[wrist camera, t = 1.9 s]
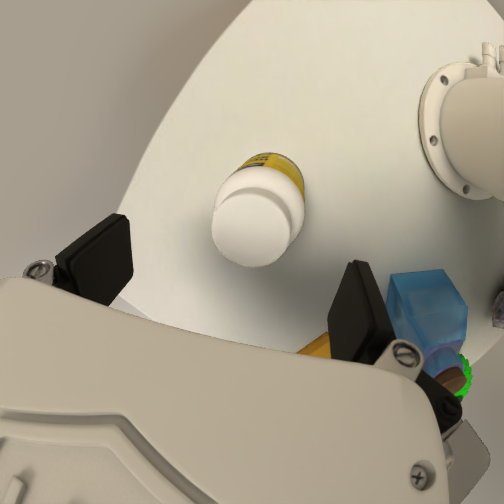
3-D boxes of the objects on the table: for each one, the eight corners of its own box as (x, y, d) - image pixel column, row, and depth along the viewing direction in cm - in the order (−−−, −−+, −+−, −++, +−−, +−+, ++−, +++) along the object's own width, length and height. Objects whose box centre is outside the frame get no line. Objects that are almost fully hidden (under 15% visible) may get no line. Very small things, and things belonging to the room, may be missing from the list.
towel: (270, 370, 33) (269, 373, 33) (326, 331, 28) (326, 335, 28) (330, 399, 35) (331, 402, 35) (384, 369, 31) (385, 372, 30)
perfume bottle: (390, 274, 24) (429, 373, 13) (442, 269, 22) (494, 355, 12) (383, 320, 27) (405, 415, 16) (430, 314, 25) (464, 400, 15)
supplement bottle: (272, 137, 20) (252, 155, 11) (317, 187, 21) (329, 241, 13) (224, 180, 22) (177, 227, 14) (268, 226, 24) (249, 296, 15)
